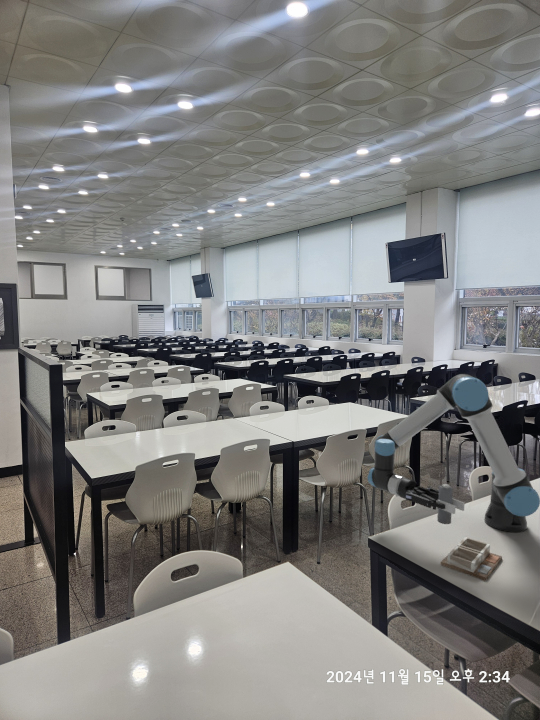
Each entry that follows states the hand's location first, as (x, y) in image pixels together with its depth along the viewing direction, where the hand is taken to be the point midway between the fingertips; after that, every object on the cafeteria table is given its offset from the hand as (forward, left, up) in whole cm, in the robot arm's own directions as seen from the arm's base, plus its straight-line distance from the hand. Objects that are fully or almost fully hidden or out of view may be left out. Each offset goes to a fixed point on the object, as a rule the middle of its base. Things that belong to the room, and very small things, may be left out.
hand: (459, 508), depth 156 cm
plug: (-1, -5, -7) cm, 8 cm away
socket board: (-2, +4, -18) cm, 19 cm away
